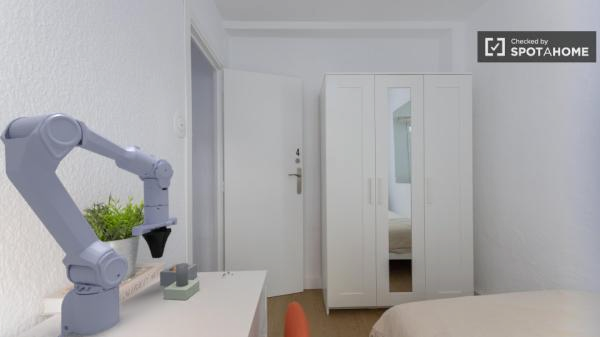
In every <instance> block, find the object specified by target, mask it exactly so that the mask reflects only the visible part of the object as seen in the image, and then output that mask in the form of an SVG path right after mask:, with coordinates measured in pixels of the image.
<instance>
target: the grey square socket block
mask: <svg viewBox="0 0 600 337" xmlns="http://www.w3.org/2000/svg"><path fill="white" fill-rule="evenodd" d="M178 264H179V263H175V264H173V265H170V266H168V267H167V268H165V269H162V270H161V271H160V272H159V284H160V286H161V287H168V286H170V285H171V284H173V283H174V282H176V271H173V268H174V267H176V265H178ZM187 264H188V280H196V279H197V278H198V264H196V263H195V264H194V263H187Z"/></svg>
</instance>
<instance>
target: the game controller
mask: <svg viewBox="0 0 600 337" xmlns="http://www.w3.org/2000/svg"><path fill="white" fill-rule="evenodd" d="M230 274H231V276H233V275H234V274H233V273H231V271H229V270H228V271H225V272H224V273H222V274H221V278H220V279H225V278H227V276H228V275H230Z"/></svg>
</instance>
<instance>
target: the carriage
mask: <svg viewBox="0 0 600 337" xmlns="http://www.w3.org/2000/svg"><path fill="white" fill-rule="evenodd" d="M177 264H178V265H176V282H174V283H173V284H171V285H170V286H165V288H163V300H178V301H187V300H188V299H191V297H193V295H195V294H196V293H198V292H199V291H200V280H196V279H194V280H188V264H189V263H186V262H182V263H177Z"/></svg>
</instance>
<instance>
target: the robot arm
mask: <svg viewBox="0 0 600 337" xmlns="http://www.w3.org/2000/svg"><path fill="white" fill-rule="evenodd" d="M0 140H1V142H2V144H3V145H4V153H5V154H4V158H5V159H4V161H5V163H4V164H5V174H6V176H7V178H8V180H9V181H10V183H12V186H14V187H15V189H16V190H17V191H18V193H19V194H20V196H21V197H22V198H23V199H24V201H25V202H26V203H27V205H28V206H29V207H30V209H31V210H32V212H34V214H35V215H36V217H37V218H38V219H39V221H40V222H41V223H42V225H43V226H44V227H45V228H46V230H47V231H48V232H49V233H50V236H52V237H53V239H54V240H55V241H56V243H57V244H58V246H59V247H60V248H61V250H62V251H63V252H64V254H65V255H64V258H62V260H61V263H62V264H63V265H64V266H65V270H66V278H67V279H68V281H69V282H70V283H72V284H73V288H71V289H69V291H67V293H65V295H64V297H63V299H62V301H61V308H60V309H61V310H60V311H61V312H60V320H61V322H60V325H61V326H60V330H61V332H60V334H59V335H58V336H57V337H66V336H67V335H69V334H71V333H73V334H74V333H75V334H77V335H79V336H80V335H81V336H87V335H94V334H98V333H101V332H104V331H106V330H109V329H110V328H113V327H114V326H116V325H117V324H118V323H119V322H120V320H121V318H120V315H121V314H120V312H121V310H120V308H121V307H120V285H122V282H123V280H125V277H126V275H127V273H128V270H129V262H128V260H127V258H126V257H125V256H124V255H122V254H120V253H118V252H117V251H116V250H115V249H114V247H112V246H111V245H109V244H107V243H105V242H104V241H102V240H100V239H99V237H98V235H97V234H96V233H95V231H94V230H93V228H92V227H91V225H90V223H89V222H88V221H87V219H86V217H85V215H83V213H82V211H81V210H80V208H79V207H78V205H77V204H76V202H75V201H74V200H73V197H72V196H71V195H70V193H69V192H68V190H67V188H66V187H65V185H64V184H63V183H62V182H61V179H60V178H59V177H58V175H57V174H56V170H57V169H58V167H59V166H60V163H61V162H62V161H63V159H64V158H66V157H67V156H68V154H70V153H71V152H72V151H73V150H74V149H75V148H80V149H83V150H86V151H88V152H91V153H94V154H97V155H100V156H102V157H105V158H108V159H109V160H110V159H111V160H114V162H115V165H116V167H117V168H119V169H121V170H123V171H126V172H128V173H130V174H134V175H136V176H138V178H139V180H140V181H142V182H143V223H141V224H139V225H136V226H133V227H131V235H132V236H133V237H134V236H135V237H137V236H139V237H140V236H142V238H143V239H144V241H145V242H146V244H147V246H148V248H149V252H150V256H151V257H152V259H160V258H162V257H163V255H164V252H165V249H166V248H165V247H166V244H167V241H168V239H169V236H170V235H171V233H172V228H171V227H170V226H176V225H178V217H169V216H170V214H169V209H170V208H169V207H170V206H169V202H170V200H169V187H170V186H171V179H172V178H173V175H174V169H173V168H172V164H171V163H170V162H169V161H167V160H166V159H161V158H160V159H157V158H156V157H155V155H154V154H148V153H147V152H145V151H143V150H141V147H140V146H138V145H127V146H122V145H120V144H118V143H117V142H115V141H112V140H111V139H109V138H108V137H106V136H105V135H102V134H101V133H99V132H97V131H95V130H94V129H92V128H90V127H89V126H87V123H85V122H84V121H82V120H79V119H75V118H74V117H72V116H71V115H69V114H67V113H64V112H63V113H62V112H51V113H48V114H41V115H34V116H20V117H16V118H14V119H12V120H11V121H10V122H8V124H7V125H6V126H5V128H4V130H3V131H2V132H1V135H0Z"/></svg>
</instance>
